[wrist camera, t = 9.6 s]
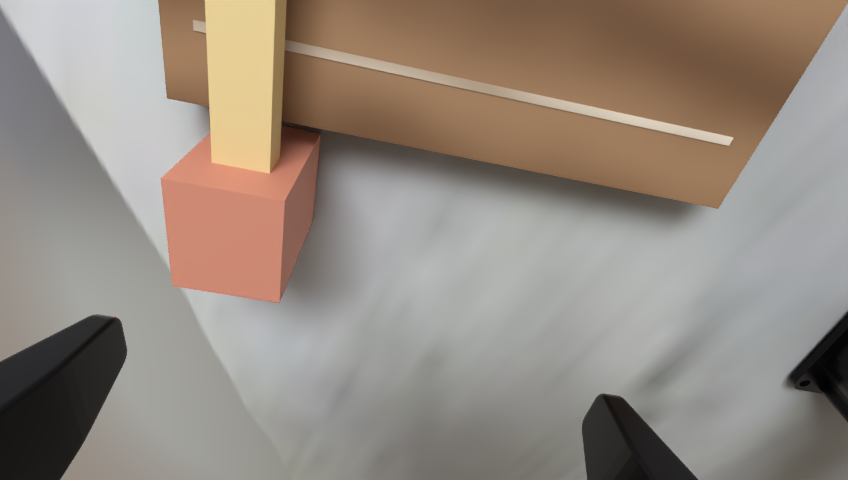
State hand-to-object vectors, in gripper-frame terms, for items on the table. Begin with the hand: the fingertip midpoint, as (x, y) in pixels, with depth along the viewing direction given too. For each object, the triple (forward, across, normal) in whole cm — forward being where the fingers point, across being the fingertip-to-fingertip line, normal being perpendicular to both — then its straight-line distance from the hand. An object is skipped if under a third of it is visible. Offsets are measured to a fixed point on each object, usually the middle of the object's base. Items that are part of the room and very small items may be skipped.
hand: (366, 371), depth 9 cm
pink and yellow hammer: (+11, +5, -2) cm, 13 cm away
